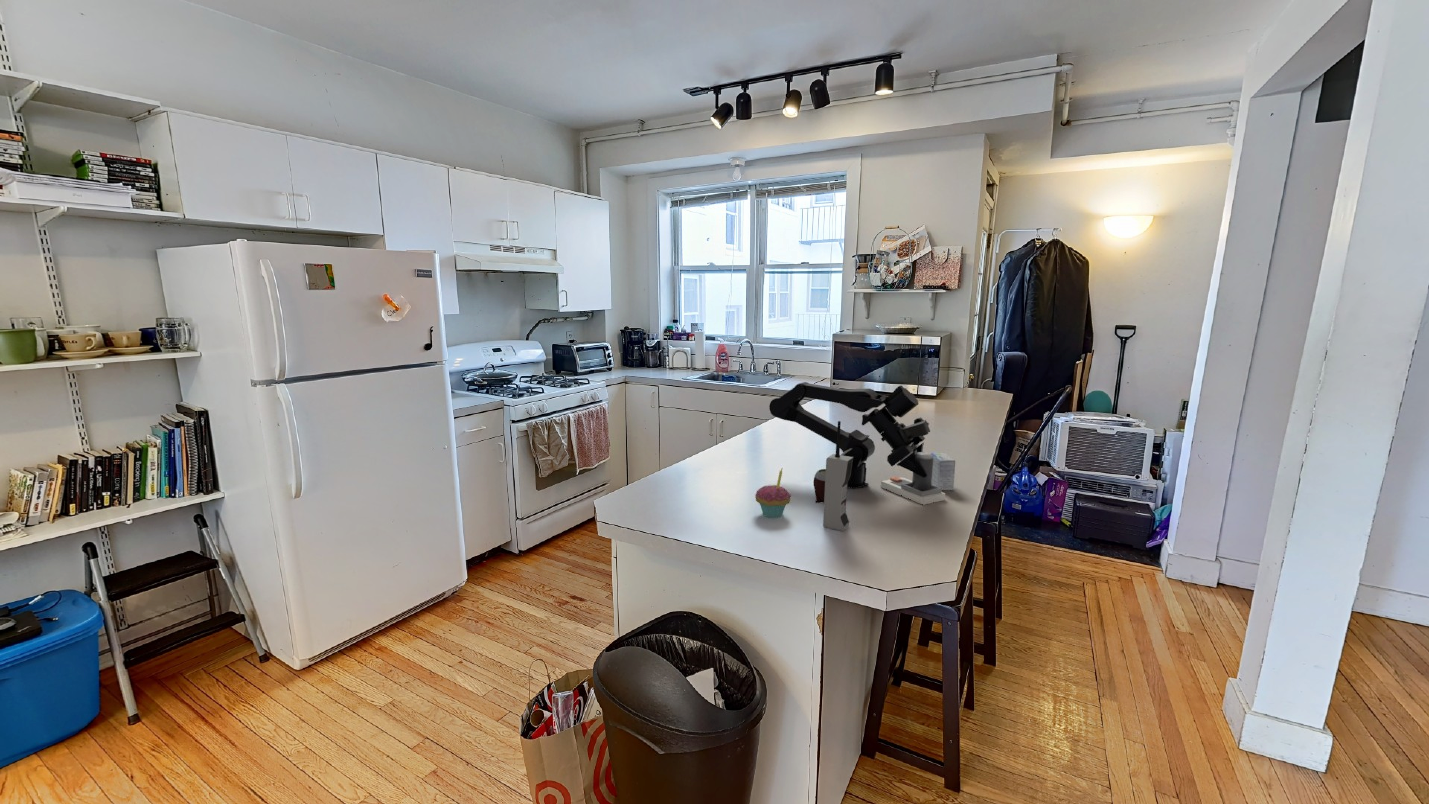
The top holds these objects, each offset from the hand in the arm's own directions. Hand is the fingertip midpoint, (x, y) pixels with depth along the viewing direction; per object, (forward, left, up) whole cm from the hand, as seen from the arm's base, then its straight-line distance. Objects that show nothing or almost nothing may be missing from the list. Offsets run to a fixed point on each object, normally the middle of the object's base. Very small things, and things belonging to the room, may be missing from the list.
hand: (928, 474), depth 150 cm
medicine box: (+11, +5, -7) cm, 14 cm away
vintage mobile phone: (-34, -5, -7) cm, 35 cm away
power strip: (-1, +4, -7) cm, 8 cm away
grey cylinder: (-1, +1, -5) cm, 5 cm away
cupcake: (-43, +8, -7) cm, 45 cm away
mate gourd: (-25, +9, -7) cm, 28 cm away
